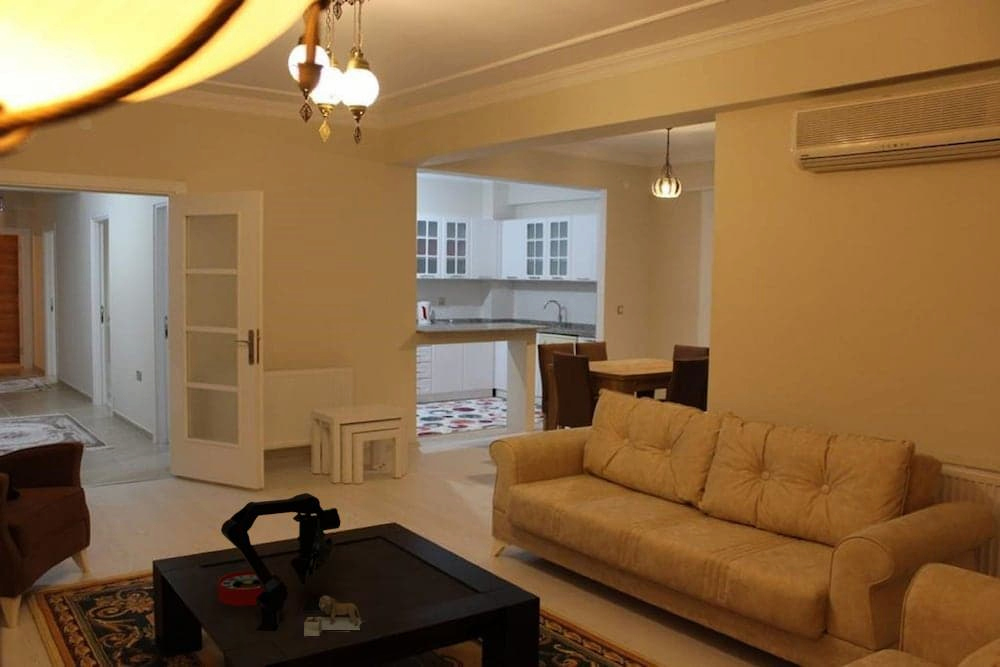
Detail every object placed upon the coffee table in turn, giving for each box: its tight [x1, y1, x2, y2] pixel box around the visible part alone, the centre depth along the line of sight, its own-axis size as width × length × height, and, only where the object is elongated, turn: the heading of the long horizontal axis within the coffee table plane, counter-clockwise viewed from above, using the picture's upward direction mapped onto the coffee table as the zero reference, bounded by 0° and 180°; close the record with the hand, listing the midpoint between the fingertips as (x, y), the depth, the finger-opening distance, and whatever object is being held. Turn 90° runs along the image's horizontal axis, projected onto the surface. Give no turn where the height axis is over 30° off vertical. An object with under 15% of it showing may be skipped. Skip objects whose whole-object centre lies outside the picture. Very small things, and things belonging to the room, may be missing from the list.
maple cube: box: [303, 616, 323, 637], centre depth 271 cm, size 4×4×5 cm
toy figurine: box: [298, 527, 327, 568], centre depth 338 cm, size 9×19×25 cm
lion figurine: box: [319, 595, 365, 626], centre depth 279 cm, size 15×5×9 cm, turn 93°
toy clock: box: [217, 570, 275, 607], centre depth 302 cm, size 20×6×20 cm
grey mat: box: [320, 616, 362, 630], centre depth 279 cm, size 10×16×1 cm, turn 90°
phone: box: [300, 594, 327, 613], centre depth 296 cm, size 8×1×15 cm
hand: (307, 579), depth 283 cm, fingers open, 9 cm apart
